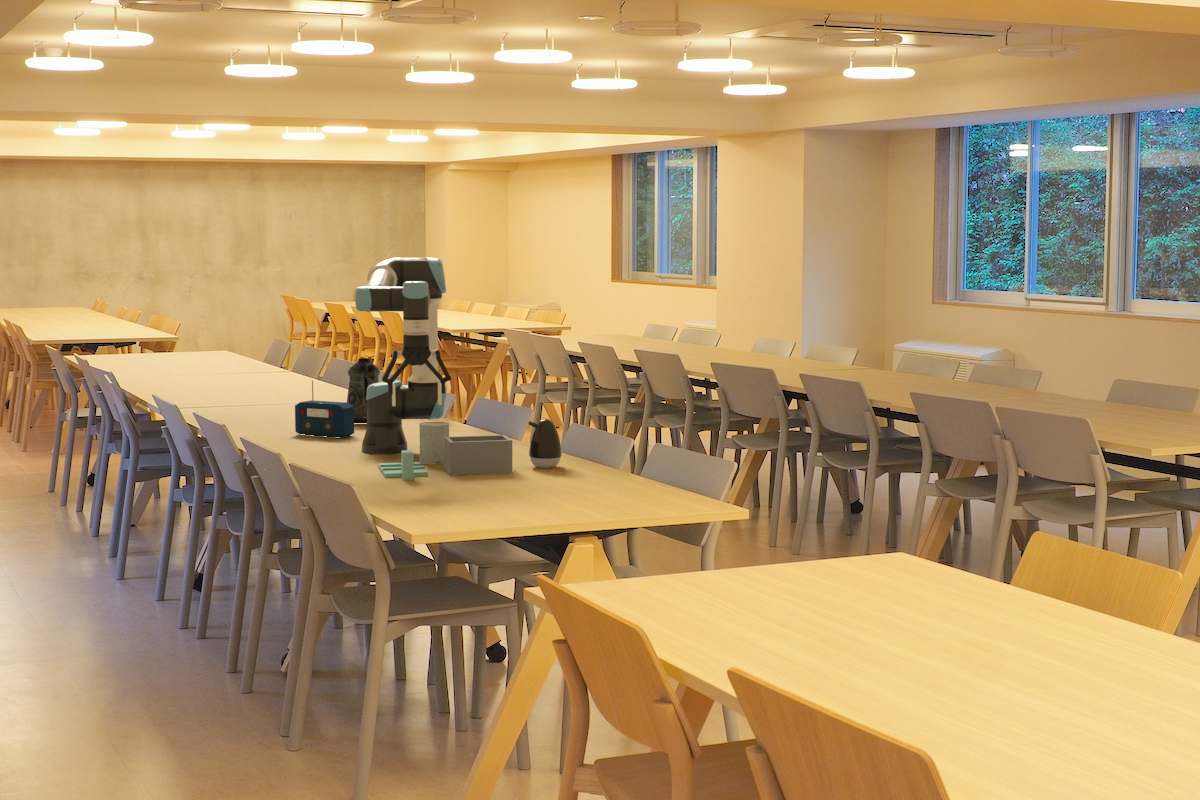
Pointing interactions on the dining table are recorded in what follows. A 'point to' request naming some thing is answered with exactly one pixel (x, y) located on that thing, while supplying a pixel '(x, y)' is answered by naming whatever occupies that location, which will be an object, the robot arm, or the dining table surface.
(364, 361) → the beer stein
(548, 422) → the pump dispenser
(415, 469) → the ridged green paddle
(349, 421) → the radio
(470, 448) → the tub
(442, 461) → the grey speckled cylinder
